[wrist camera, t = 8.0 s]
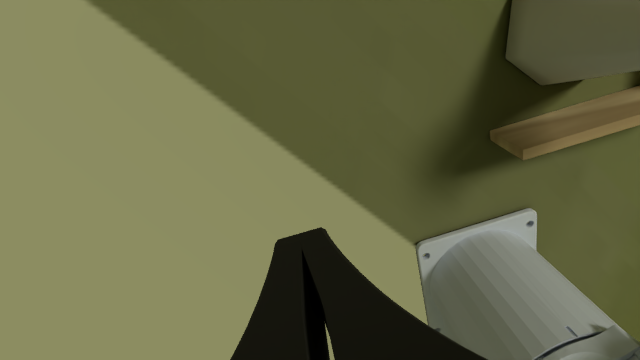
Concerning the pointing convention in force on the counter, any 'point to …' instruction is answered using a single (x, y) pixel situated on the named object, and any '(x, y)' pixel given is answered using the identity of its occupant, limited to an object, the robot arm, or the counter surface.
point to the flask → (574, 38)
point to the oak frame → (570, 125)
